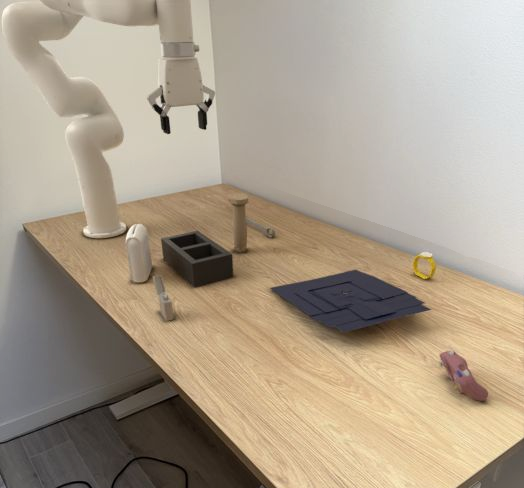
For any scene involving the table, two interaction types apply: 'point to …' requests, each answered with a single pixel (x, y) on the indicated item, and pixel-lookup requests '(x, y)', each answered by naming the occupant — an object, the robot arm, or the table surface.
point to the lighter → (163, 298)
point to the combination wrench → (261, 227)
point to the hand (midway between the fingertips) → (185, 131)
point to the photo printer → (138, 253)
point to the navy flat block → (350, 300)
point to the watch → (428, 256)
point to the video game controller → (462, 376)
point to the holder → (197, 258)
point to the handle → (239, 220)
